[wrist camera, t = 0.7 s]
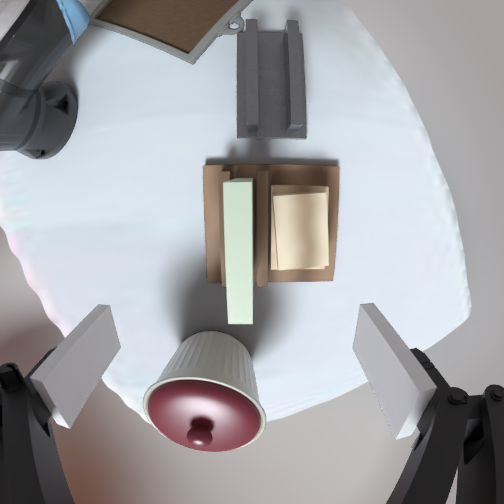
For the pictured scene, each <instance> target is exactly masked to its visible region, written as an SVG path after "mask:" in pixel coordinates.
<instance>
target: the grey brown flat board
mask: <svg viewBox="0 0 504 504" xmlns="http://www.w3.org/2000/svg"><path fill="white" fill-rule="evenodd" d="M252 1H253V0H103V1H102V2H101V4H100V5H99V6H98V7H97V8H96V9H95V11H94V12H93V13H92V14H91V16H90V22H89V23H90V24H93V25H96V26H99V27H102V28H106V29H109V30H111V31H114V32H117V33H120V34H123V35H125V36H128V37H131V38H133V39H136V40H138V41H141V42H143V43H146V44H148V45H151V46H153V47H155V48H158V49H160V50H162V51H165V52H167V53H169V54H171V55H173V56H175V57H178V58H180V59H182V60H184V61H186V62H188V63H190V64H192V65H193V64H195V62H196V61H197V60H198V59H199V57H200V56H201V55H202V54H203V53H204V52H205V50H206V49H207V48H208V47H209V46H210V45H211V43H212V42H213V41H214V40H215V39H216V38H217V37H220V36H222V35H223V34H225V35H233V34H237V33H239V32H241V31H242V30H243V28H244V21H243V19H242V18H241V17H240V15H241V13H240V12H241V11H243V10H244V9H245V8H246V7H247V6H248V5H249V4H250V3H251V2H252ZM233 23H236V24H238V25H239V27H238V28H237V29H231V28H229V26H230V25H229V24H233Z"/></svg>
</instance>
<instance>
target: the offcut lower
mask: <svg viewBox="0 0 504 504" xmlns="http://www.w3.org/2000/svg"><path fill="white" fill-rule="evenodd" d="M318 191H323V192H326V195H327V215H328V198H329V187H327V186H311V185H270V268H271V270H278V266H277V254H276V241H275V228H274V215H273V203H272V195H274V194H287V193H302V192H318ZM299 269H325V266H320V267H310V268H299Z"/></svg>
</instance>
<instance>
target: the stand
mask: <svg viewBox="0 0 504 504" xmlns="http://www.w3.org/2000/svg"><path fill="white" fill-rule="evenodd" d="M237 139H302V140H305V139H306V97H305V73H304V55H303V40H302V34H299V27H298V21H295V20H287V22H286V27H285V31H284V33H275V32H257V19H246V32H239V33H237Z"/></svg>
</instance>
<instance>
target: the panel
mask: <svg viewBox="0 0 504 504" xmlns="http://www.w3.org/2000/svg"><path fill="white" fill-rule="evenodd" d="M223 201H224V238H225V266H226V289H227V310H228V324H253V278H254V249H253V178H235V179H232V180H229V181H226V182H223Z"/></svg>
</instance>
